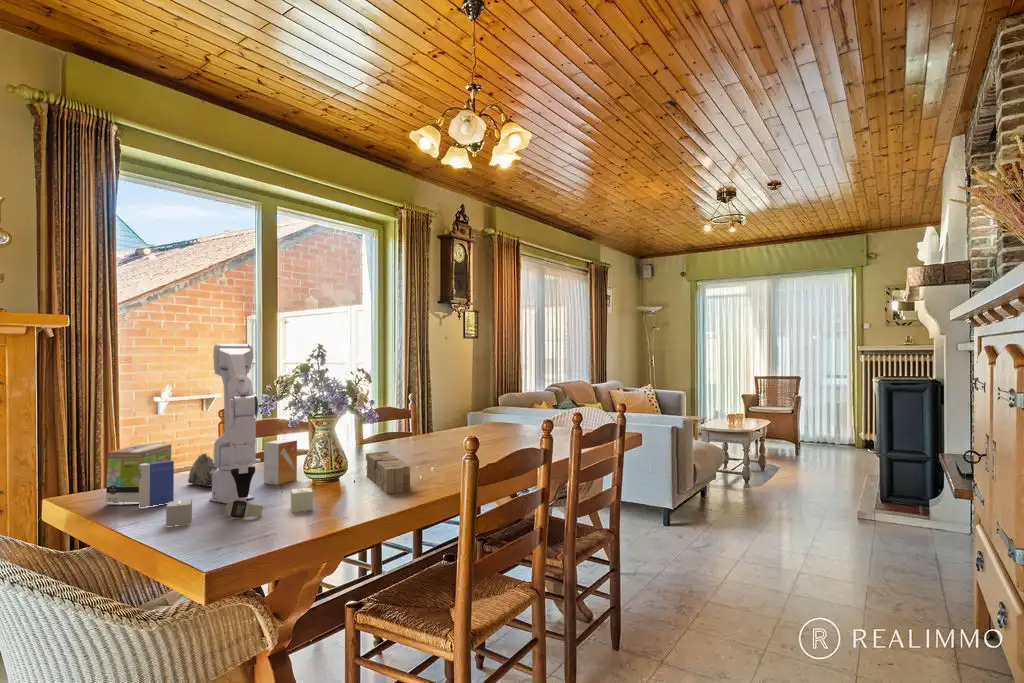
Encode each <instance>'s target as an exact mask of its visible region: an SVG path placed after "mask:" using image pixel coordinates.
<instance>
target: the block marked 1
mask: <svg viewBox="0 0 1024 683" xmlns="http://www.w3.org/2000/svg"><path fill="white" fill-rule="evenodd" d="M165 506H166V507H165V508H166V509H165V511H166V512H165V513H166V514H165V523H166V524H165V527H166V526H175V525H184V526H188V525H187V524H190V523H191V524H192V521H191V520H193V499H184V500H173V501H172V502H168V504H167V505H165ZM191 524H190V525H191Z"/></svg>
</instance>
